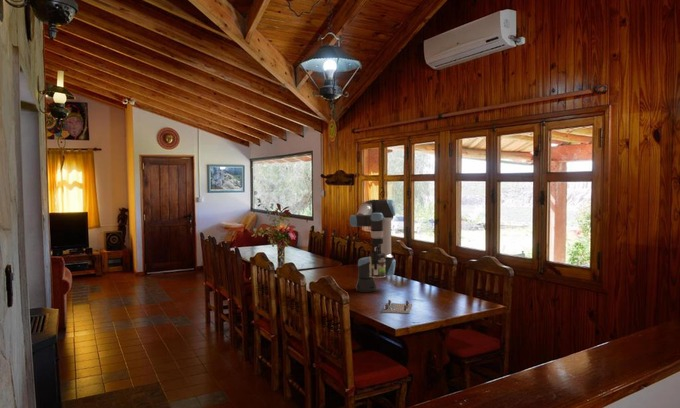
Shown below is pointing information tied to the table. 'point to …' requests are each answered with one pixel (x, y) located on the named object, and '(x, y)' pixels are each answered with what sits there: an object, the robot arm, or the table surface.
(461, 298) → the table surface
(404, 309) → the pin plate
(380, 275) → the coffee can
